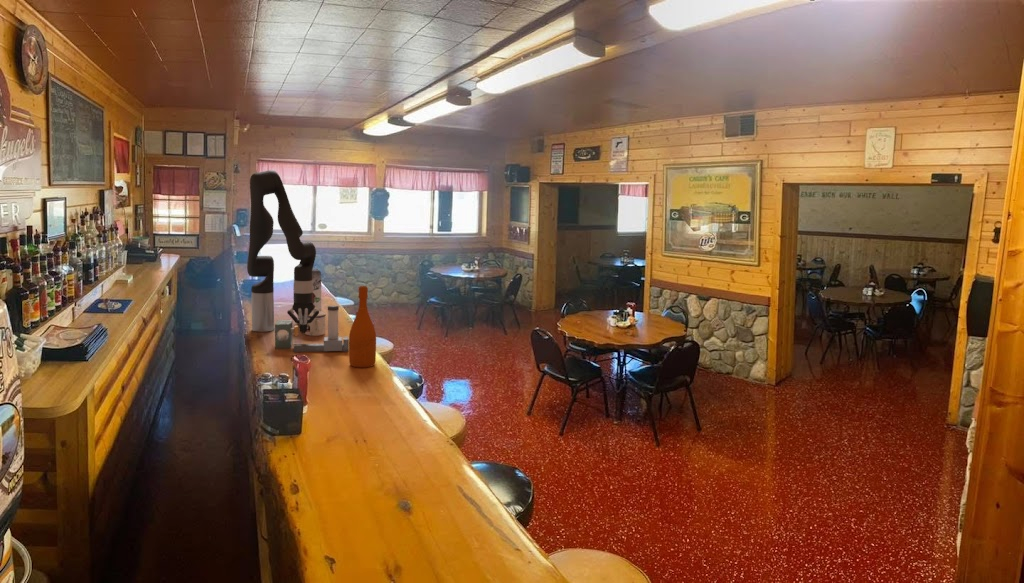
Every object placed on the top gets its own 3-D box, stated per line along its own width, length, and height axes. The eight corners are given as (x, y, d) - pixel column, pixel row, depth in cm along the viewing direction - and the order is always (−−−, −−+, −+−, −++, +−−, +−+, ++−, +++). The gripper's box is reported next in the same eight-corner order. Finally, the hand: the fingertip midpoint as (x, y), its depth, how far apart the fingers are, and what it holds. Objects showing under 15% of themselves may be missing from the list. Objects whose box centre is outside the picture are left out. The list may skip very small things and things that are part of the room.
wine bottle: (379, 362, 246) (380, 284, 241) (371, 369, 237) (371, 288, 232) (354, 360, 247) (354, 283, 242) (345, 367, 237) (345, 287, 233)
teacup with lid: (302, 332, 288) (302, 306, 286) (323, 330, 292) (322, 305, 290) (308, 338, 278) (308, 311, 276) (329, 336, 282) (329, 310, 280)
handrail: (294, 349, 259) (294, 337, 258) (348, 348, 264) (348, 336, 263) (293, 352, 254) (293, 340, 253) (348, 351, 259) (348, 339, 258)
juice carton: (296, 321, 308) (296, 265, 303) (319, 320, 312) (319, 265, 308) (298, 325, 300) (298, 268, 295) (322, 324, 304) (322, 267, 300)
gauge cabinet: (277, 343, 266) (276, 320, 264) (292, 343, 267) (292, 320, 266) (275, 349, 258) (274, 324, 256) (290, 348, 259) (290, 324, 258)
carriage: (324, 347, 262) (324, 305, 259) (342, 347, 264) (342, 305, 261) (323, 351, 256) (323, 308, 253) (342, 350, 258) (342, 308, 255)
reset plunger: (275, 333, 263) (275, 325, 262) (298, 333, 265) (298, 325, 265) (274, 335, 260) (274, 327, 259) (297, 335, 262) (297, 327, 261)
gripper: (285, 292, 256) (285, 335, 259) (319, 292, 259) (320, 334, 262) (286, 289, 263) (287, 330, 266) (320, 289, 266) (320, 330, 269)
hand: (303, 332), depth 264 cm, fingers closed
